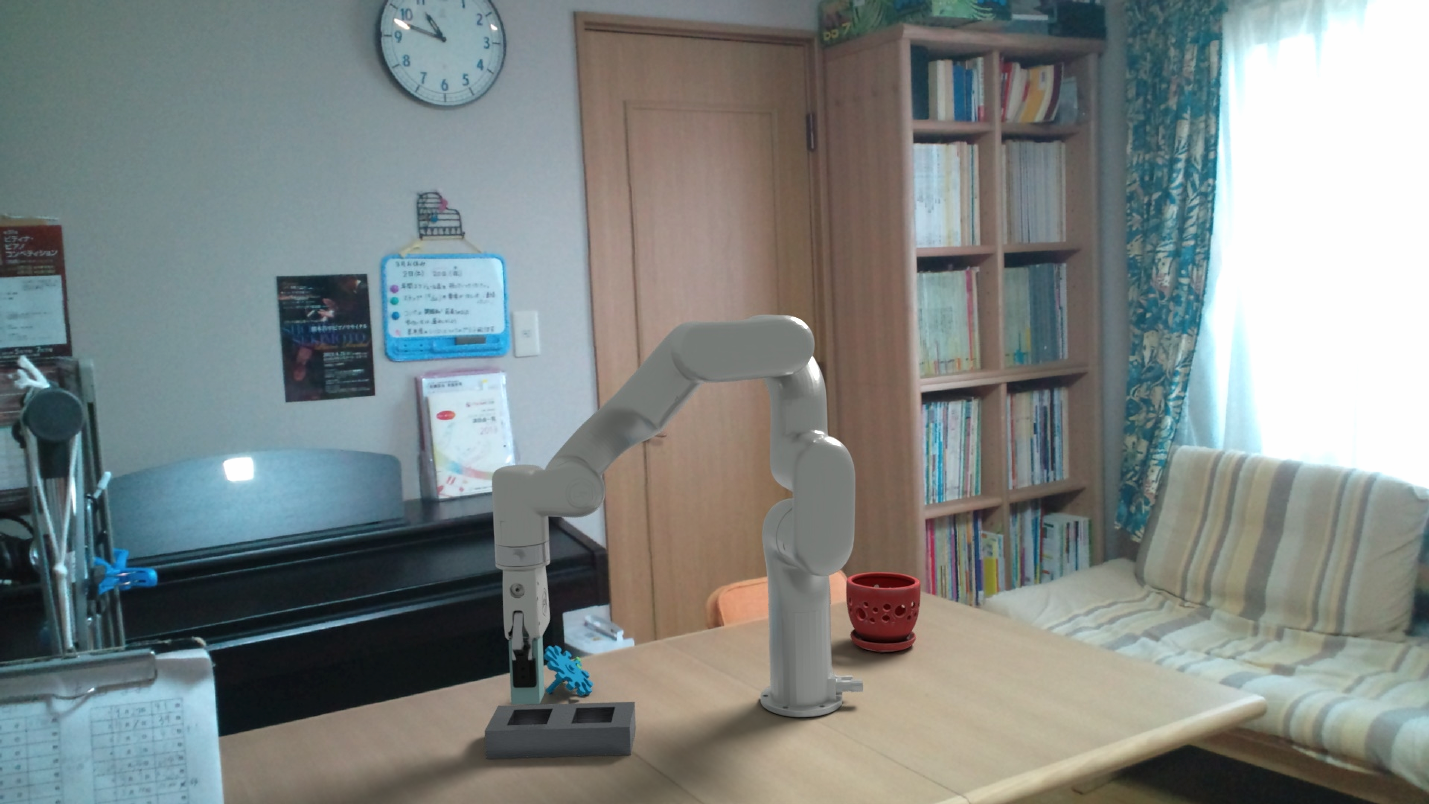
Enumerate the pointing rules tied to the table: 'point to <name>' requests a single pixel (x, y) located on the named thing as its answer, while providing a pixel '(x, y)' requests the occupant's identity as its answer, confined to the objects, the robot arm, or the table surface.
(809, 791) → the table surface
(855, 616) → the plant pot
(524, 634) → the peg
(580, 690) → the gear
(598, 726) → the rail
